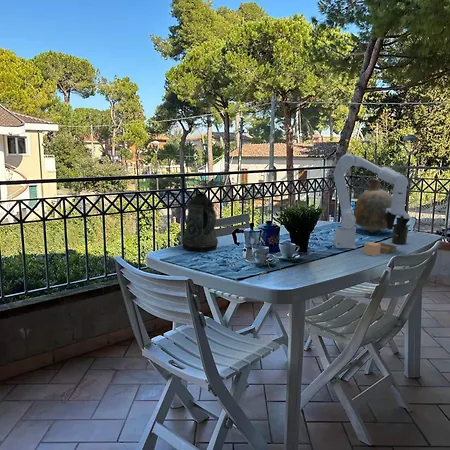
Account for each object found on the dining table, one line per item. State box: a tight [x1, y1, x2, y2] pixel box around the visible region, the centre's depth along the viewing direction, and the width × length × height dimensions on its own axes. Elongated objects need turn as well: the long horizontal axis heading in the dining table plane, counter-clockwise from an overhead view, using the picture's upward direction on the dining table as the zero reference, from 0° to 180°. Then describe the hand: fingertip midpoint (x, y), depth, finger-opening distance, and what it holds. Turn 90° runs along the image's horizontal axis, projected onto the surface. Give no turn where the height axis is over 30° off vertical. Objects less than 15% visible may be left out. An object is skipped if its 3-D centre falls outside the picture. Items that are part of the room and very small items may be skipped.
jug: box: [353, 178, 392, 233], centre depth 233 cm, size 24×21×30 cm
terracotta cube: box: [363, 241, 381, 257], centre depth 192 cm, size 5×5×5 cm
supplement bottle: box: [391, 220, 409, 245], centre depth 213 cm, size 7×7×12 cm
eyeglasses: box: [226, 252, 282, 279], centre depth 165 cm, size 16×15×5 cm
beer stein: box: [181, 193, 219, 253], centre depth 193 cm, size 16×19×25 cm
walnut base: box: [378, 242, 397, 255], centre depth 198 cm, size 8×8×3 cm
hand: (395, 230), depth 196 cm, fingers open, 7 cm apart
